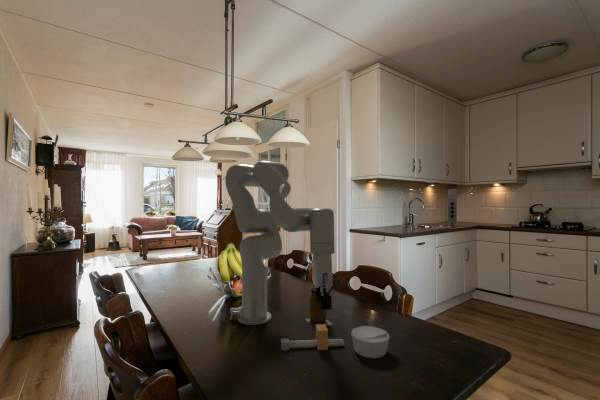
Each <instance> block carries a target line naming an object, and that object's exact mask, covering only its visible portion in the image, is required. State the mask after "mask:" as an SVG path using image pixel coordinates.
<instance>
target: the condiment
mask: <svg viewBox="0 0 600 400" xmlns="http://www.w3.org/2000/svg"><path fill="white" fill-rule="evenodd" d="M310 292H311V293H310V297H309V318H305V319H304V320H305V321H306V322H307V323H309V324H311V325H312V326H313V327H315V328H316V324H325V325H326V327H327V326H331V325H333V323H332V322H330V321H329V320H327V310H321V303H320V300H316V287H313V288H311V290H310Z"/></svg>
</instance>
